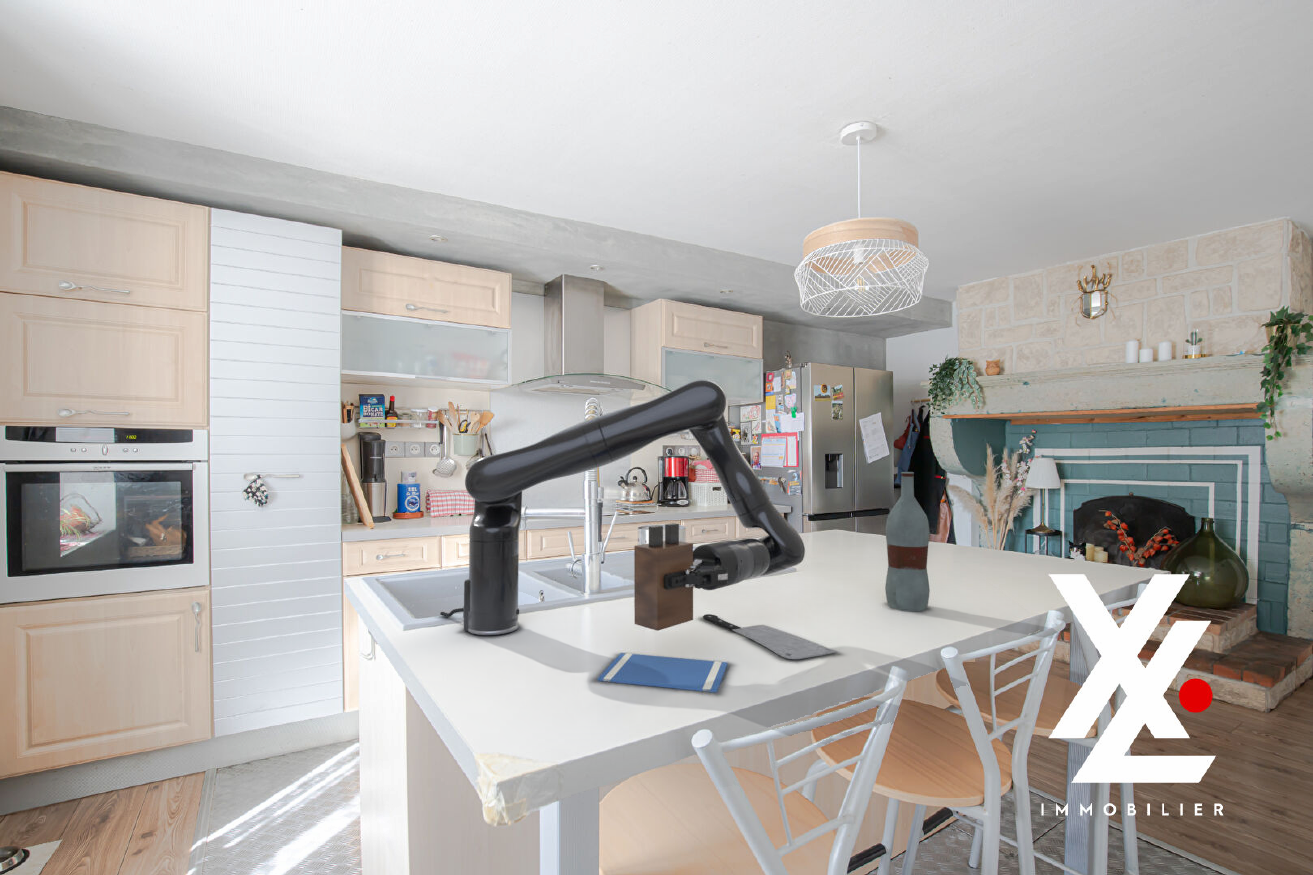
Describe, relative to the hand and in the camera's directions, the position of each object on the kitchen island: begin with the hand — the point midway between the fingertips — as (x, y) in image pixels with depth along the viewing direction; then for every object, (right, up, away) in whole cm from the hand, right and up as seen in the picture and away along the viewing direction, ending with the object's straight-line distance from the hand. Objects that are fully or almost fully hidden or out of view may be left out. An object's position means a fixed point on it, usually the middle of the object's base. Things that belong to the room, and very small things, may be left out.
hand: (652, 579), depth 95 cm
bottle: (+57, -16, +45) cm, 74 cm away
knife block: (+2, -7, +2) cm, 7 cm away
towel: (+2, -15, +2) cm, 15 cm away
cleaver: (+20, -16, +23) cm, 34 cm away
